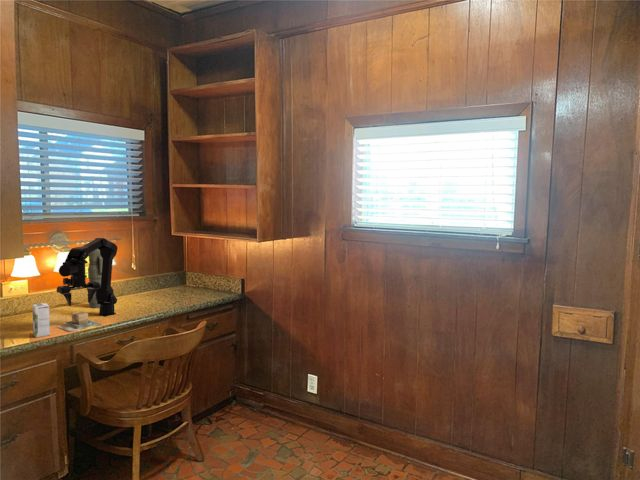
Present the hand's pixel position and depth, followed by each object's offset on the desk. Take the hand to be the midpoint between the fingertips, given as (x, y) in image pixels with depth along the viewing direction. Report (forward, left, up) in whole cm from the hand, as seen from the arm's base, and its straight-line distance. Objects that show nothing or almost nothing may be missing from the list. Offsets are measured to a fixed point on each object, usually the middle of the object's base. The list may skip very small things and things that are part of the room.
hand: (79, 304), depth 214 cm
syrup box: (+18, +1, -11) cm, 21 cm away
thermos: (-26, -33, -11) cm, 44 cm away
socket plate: (0, 0, -11) cm, 11 cm away
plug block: (0, 0, -11) cm, 11 cm away
